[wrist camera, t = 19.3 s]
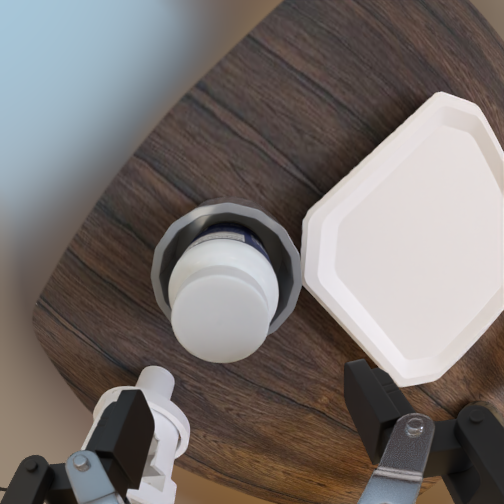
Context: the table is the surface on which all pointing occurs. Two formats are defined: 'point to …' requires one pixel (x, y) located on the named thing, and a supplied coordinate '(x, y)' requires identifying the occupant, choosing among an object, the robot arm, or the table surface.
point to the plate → (414, 242)
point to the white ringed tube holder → (154, 435)
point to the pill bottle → (223, 293)
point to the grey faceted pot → (245, 213)
